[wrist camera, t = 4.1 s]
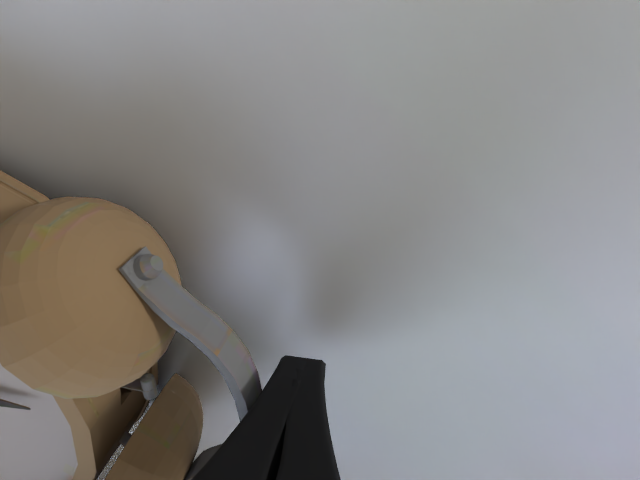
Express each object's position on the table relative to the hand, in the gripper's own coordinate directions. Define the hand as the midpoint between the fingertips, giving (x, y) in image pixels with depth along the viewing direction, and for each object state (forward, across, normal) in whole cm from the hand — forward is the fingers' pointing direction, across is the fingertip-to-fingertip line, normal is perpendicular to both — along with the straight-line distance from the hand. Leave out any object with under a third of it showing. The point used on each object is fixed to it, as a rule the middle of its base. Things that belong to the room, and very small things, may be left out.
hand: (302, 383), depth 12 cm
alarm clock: (+2, +8, 0) cm, 9 cm away
